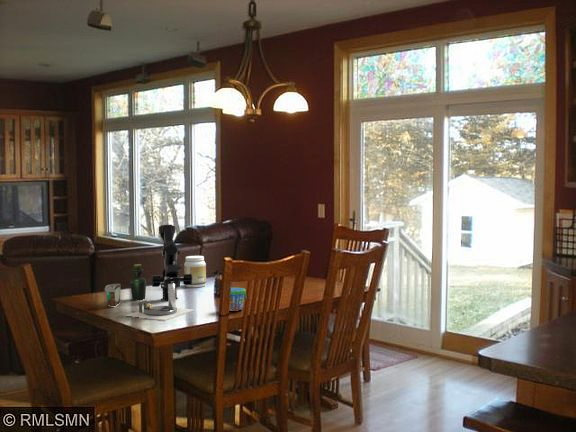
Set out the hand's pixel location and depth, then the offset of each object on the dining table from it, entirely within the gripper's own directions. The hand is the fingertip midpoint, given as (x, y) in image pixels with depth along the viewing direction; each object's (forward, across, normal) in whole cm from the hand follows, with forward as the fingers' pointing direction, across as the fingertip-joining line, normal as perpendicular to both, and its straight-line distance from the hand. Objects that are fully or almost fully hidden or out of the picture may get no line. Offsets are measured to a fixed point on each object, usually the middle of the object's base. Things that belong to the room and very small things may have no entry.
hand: (173, 295), depth 299 cm
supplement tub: (-42, +17, +55) cm, 72 cm away
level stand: (+6, -6, +6) cm, 10 cm away
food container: (-12, -28, +25) cm, 40 cm away
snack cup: (+8, +28, +4) cm, 29 cm away
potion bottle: (-21, -15, +34) cm, 42 cm away
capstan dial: (+6, -6, +6) cm, 10 cm away
